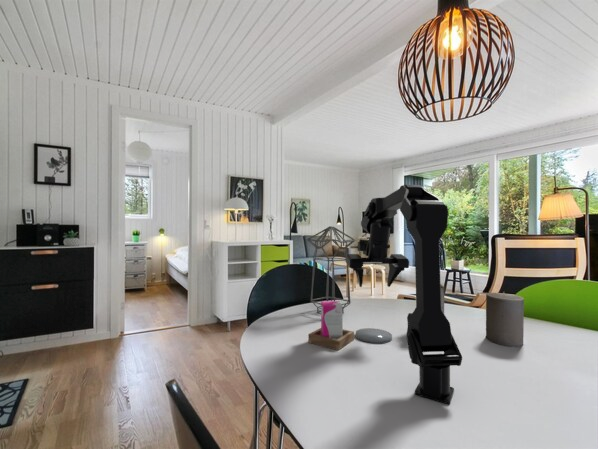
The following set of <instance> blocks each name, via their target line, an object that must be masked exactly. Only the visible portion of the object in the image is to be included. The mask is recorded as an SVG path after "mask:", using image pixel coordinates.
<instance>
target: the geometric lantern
mask: <svg viewBox="0 0 598 449" xmlns="http://www.w3.org/2000/svg"><path fill="white" fill-rule="evenodd" d="M321 233H322V234H321ZM341 234H342V235H343V236H345V237H348V238H349V239H345V238H344V237H343V236H342V235H341ZM318 235H319V237H318V238H317V239H312V238H315V237H316V236H318ZM333 236H334V239H333ZM326 237H327V238H326ZM341 239H342V240H341ZM306 241H308V242H309V243H310V244H311V245H312V246H313V247H314V248H315V250H314V253H313V257H312V276H311V277H312V278H311V293H310V301H309V302H310V303H312V304H313V305H314V306H315V307H316V313H317V314H319V315H321V302H318V300H323V299H326V300H325V301H329V299H330V301H336V300H337V301H343V303H341V304H342V315H343V314H344V313H345V312H344V309H346V308H347V307H348V306H350V305H351V303H352V302H351V289H350V275H349V274H350V273H349V272H350V271H349V270H350V269H349V268H350V267H349V266H348V265H347V264H346V276H347V279H346V280H347V299H343V298H341V297H340V298H339V297H336V291H335V287H336V286H335V262H342V261H343V262H344V261H345V262H346V256H347V255H348V254H349V253H348V247H350V246H351V245H352V244H353V243H355V242H357V239H355V238H353V237H351V236H350V235H348V234H346V233H345V232H343V231H342V230H340V229H338V228H336V226H328V227H326V228H324V229H322V230H321V231H319V232H318V233H316V234H314V235H312V236H310V237H308V238H306ZM330 242H332V243H334V244H335V245H336V246H337V247H338V248H337V249H336V251H335V253H334V254H333V256H332V257H330V256H329V255H328V254H327V253H326V251H325V249H324V247H325V246H327V245H329V243H330ZM339 243H340V245H339ZM343 244H345V246H343ZM319 249H320V250H322V252H323V254H324V255H325V257H317V253H318V250H319ZM339 251H343V253H344V258H341V257H335V256H336V255H337V253H338V252H339ZM317 260H318V261H326V262H327V269H326V270H327V273H326V274H327V275H326V290H325V296H322V297H319V298H313V294H314V281H315V271H316V261H317ZM330 262H331V271H332V272H331V296H329V291H330V290H329V287H330V283H329V282H330V281H329V280H330ZM316 304H317V305H320V306H317V305H316ZM319 309H320V310H319Z"/></svg>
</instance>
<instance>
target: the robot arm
mask: <svg viewBox="0 0 598 449" xmlns="http://www.w3.org/2000/svg"><path fill="white" fill-rule="evenodd" d="M398 211H400V212H401V215H402V216H403V218H404V219H405V222H406V230H407V231H408V233H409V235H410V236H411V237H412V239H413V240H414V263H415V265H414V266H415V267H414V268H415V272H414V273H415V303H416V304H415V308H414V310H413V312H412V313H411V312H409V313H408V314H407V317H406V318H407V319H406V320H407V329H406V341H407V342H406V343H407V350H408V355H409V359H410V360H411V361H410V362H411V364H413V365H416V366H419V382H418V384H417V386H416V388H415V389H414V394H415V395H416V396H421V397H423V398H427V399H430V400H434V401H437V402H441V403H444V404H446V405H447V404H451V402H452V398H453V395H454V392H455V387H453V386H451V366H458V367H460V366H461V365H462V362H463V361H462V360H463V356H462V354H461V351H460V348H459V347H458V345H457V342H456V340H455V338H454V336H453V334H452V328H451V322H449V319H448V318H447V316H446V315H445V312H444V313H443V312H442V310H441V285H442V284H441V260H440V259H441V257H440V254H441V252H440V240H441V239H442V237H443V236H444V234H445V232H446V231H447V228H448V221H449V220H448V219H449V213H450V211H449V208H448V206H447V204H445V203H444V201H443V200H442V199H441V198H440V197H439V196H436V195H435V194H433V193H432V192H429V191H428V190H426V188H425V187H424V186H423V185H420V184H403V185H401V186H400V187H399V188H398V189H396V190H395V191H393V192H391V193H390V194H388V195H387V196H385V197H374V198H371V200H370V202H368V205H367V207H366V208H365V211H364V212H363V218H362V220H361V221H360V225H361V228H362V229H363V230H364V231H366V232H367V233H368V234H369V239H368V240H367V243H366V242H365V241H358V242H357V251H358V252H362V255H365V256H366V257H362V256H361V255H360V254H359V253H347V254H348V255H347V256H346V257H345V259H346V260H345V263H346V266H347V265H348V268H350V269H352V270H353V271H354V272H355V274H356V278H357V282H358V286H359V287H360V288H362V286H363V281H364V268H363V267H364V265H383V264H384V265H386V264H387V265H388V276H387V280H386V282H387V284H386V285H387V287H388V288H390V287H391V285H392V284H393V283H394V281H395V280H396V279H397V277H398V276H399V275H400V274H401V272H403V271H405V269H409V268H410V260H409V259H408V258H407V257H406V256H405V255H404V254H402V253H394V254H393V253H391V254H390V256H389V257H388V253H389V252H388V251H389V249H390V248H391V244H389V243H390V242H389V241H390V234H391V229H393V224H392V223H391V222H390V219H392V218H393V217H395V216H396V215H397V214H398ZM440 284H441V285H440ZM438 352H441V353H438ZM424 353H425V354H424ZM426 353H429V354H426Z"/></svg>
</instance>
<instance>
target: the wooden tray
mask: <svg viewBox="0 0 598 449" xmlns="http://www.w3.org/2000/svg"><path fill="white" fill-rule="evenodd" d="M307 337H308V344H311V345H312V344H313V345H315V346H321V347H323V348H324V347H325V348H328V349H332V350H337V351H340V350H342V349H344V347H346V346H347V345H349V344H350V343H351V342H353V341H354V340H355V331H353V330H348V329H345V328H344V329H343V336H342V337H341V338H339V339H334V338H329V337H325V336H321V327H319V328H318V329H316V330H314V331H312V332H310V333H308V336H307Z"/></svg>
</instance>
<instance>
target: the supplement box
mask: <svg viewBox="0 0 598 449" xmlns="http://www.w3.org/2000/svg"><path fill="white" fill-rule="evenodd" d="M320 303H321V305H320V306H321V307H320V308H321V309H320V311H321V312H320V313H321V314H320V315H321V316H320V317H321V320H320V321H321V324H320V326H321V327H320V328H321V336H325V337H329V338H334V339H339V338H341V337H342V336H343V314H342V307H343V305H342V304H343V303H341V302H340V300H335V301H334V300H332V301H331V300H328V301H327V300H324V301H323V300H321V302H320Z"/></svg>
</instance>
